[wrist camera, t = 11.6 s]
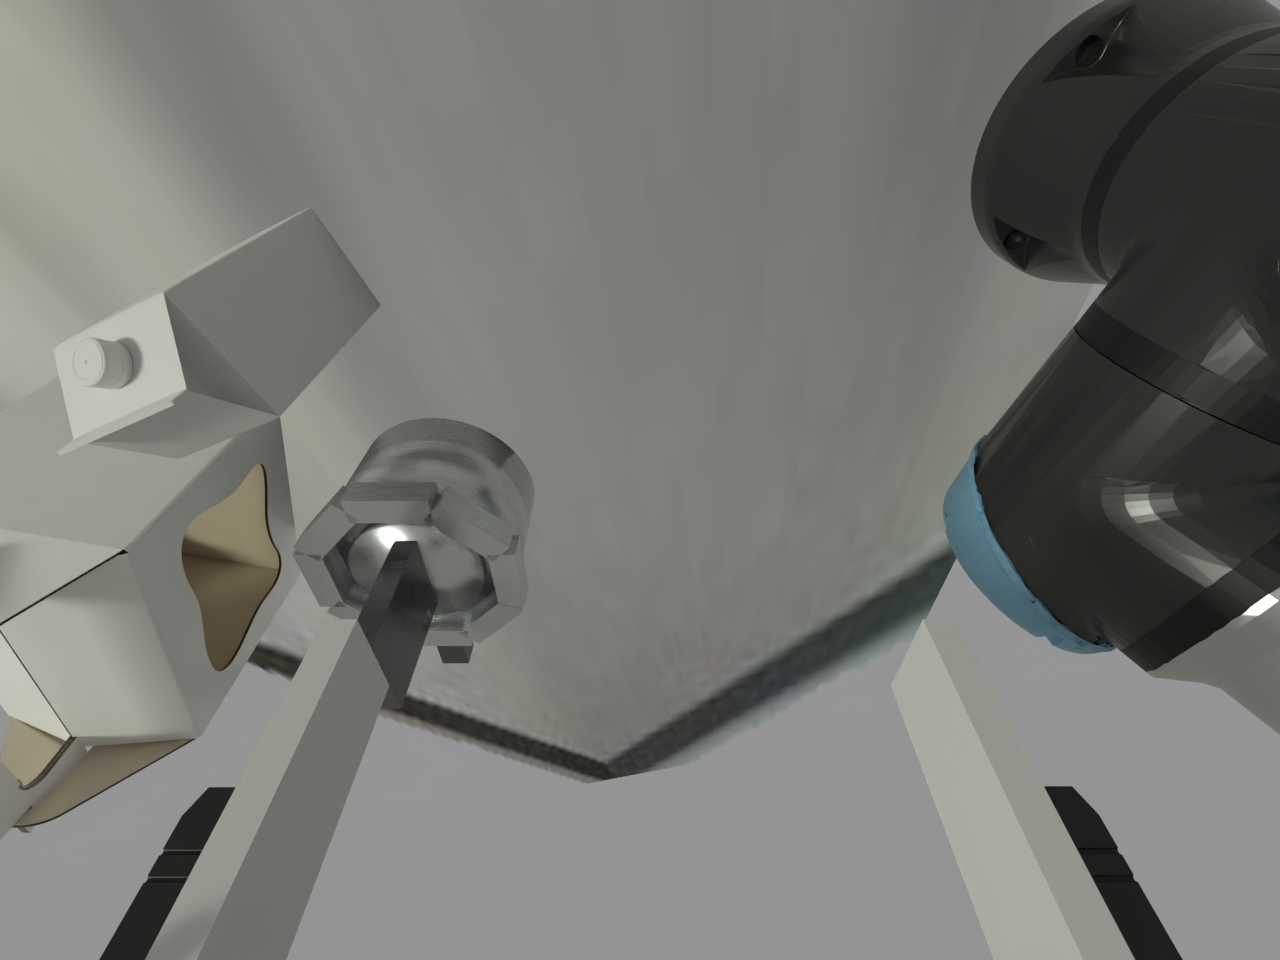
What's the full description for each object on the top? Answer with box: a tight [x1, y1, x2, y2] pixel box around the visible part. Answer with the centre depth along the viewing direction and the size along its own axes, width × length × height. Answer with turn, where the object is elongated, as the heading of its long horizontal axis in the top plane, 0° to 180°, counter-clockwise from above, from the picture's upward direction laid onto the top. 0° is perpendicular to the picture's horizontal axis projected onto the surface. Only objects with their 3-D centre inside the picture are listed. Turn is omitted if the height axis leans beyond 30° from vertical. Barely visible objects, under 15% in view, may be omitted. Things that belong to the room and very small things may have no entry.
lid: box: [348, 523, 487, 709], centre depth 41 cm, size 10×10×10 cm
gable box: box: [0, 376, 301, 840], centre depth 40 cm, size 22×13×28 cm, turn 165°
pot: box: [292, 418, 535, 663], centre depth 49 cm, size 16×22×11 cm
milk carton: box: [54, 207, 380, 459], centre depth 33 cm, size 7×7×19 cm
